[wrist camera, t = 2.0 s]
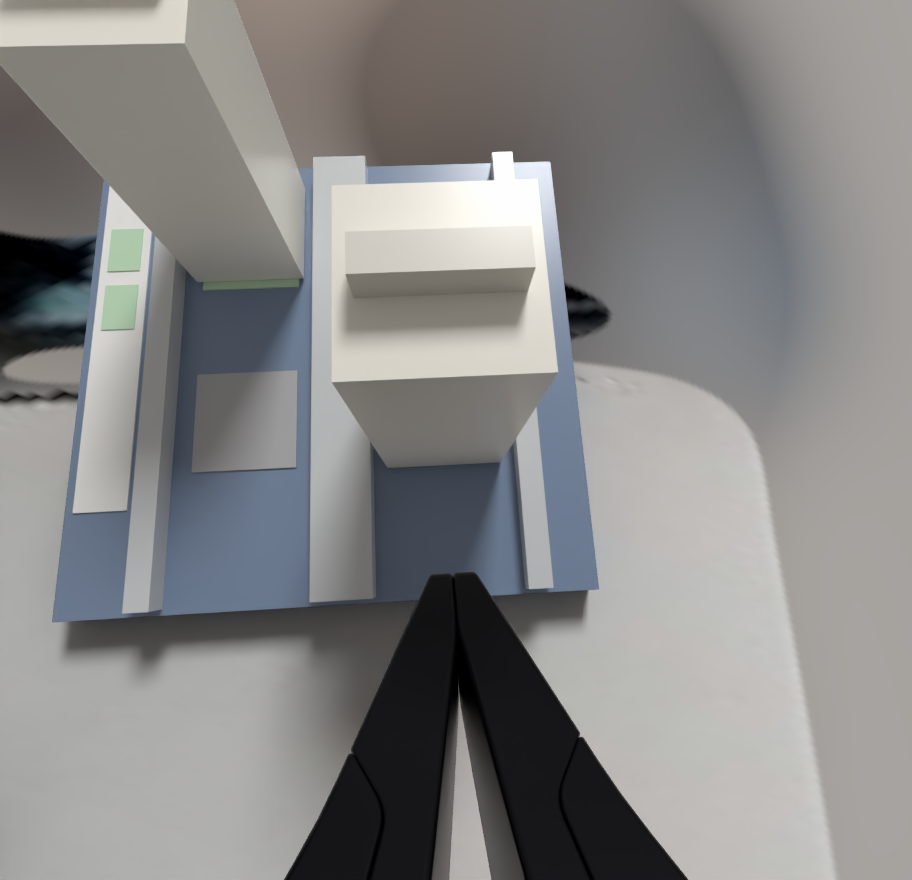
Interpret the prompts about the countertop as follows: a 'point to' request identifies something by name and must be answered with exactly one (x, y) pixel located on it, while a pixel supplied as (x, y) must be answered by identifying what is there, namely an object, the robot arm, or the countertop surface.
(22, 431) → the countertop surface
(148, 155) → the tab far
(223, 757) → the countertop surface
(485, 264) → the tab near
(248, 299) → the switch bank
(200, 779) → the countertop surface
